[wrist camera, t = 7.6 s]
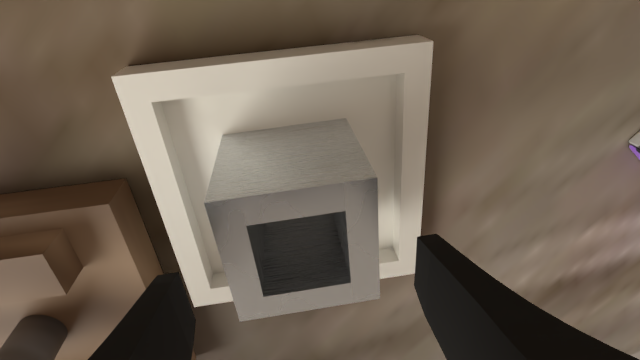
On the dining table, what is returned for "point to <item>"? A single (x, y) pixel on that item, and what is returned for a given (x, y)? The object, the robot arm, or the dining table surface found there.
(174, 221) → the dish
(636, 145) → the candy box
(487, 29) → the dining table surface
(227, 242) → the sleeve
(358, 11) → the dining table surface
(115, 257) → the vise block
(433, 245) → the robot arm
